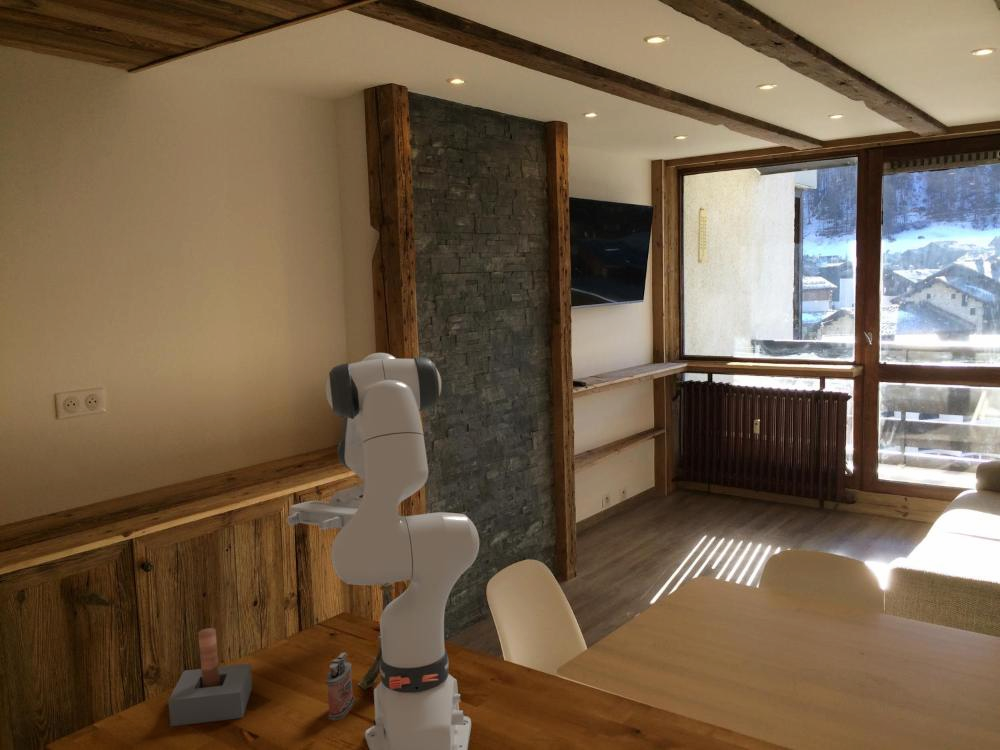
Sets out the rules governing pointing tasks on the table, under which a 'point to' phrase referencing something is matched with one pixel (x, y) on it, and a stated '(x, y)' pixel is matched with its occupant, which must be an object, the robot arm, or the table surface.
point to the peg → (209, 657)
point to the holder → (210, 696)
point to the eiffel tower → (375, 668)
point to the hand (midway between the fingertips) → (305, 523)
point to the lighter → (339, 688)
